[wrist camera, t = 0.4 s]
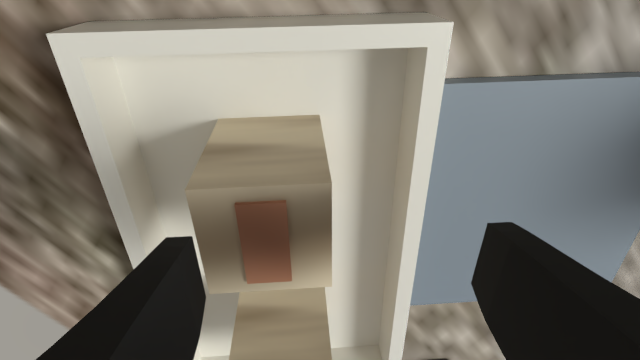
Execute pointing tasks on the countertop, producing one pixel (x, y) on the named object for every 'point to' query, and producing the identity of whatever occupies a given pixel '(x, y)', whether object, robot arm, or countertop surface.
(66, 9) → the countertop surface
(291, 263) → the labelled block
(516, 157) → the slate pad
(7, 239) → the countertop surface
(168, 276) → the robot arm
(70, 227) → the countertop surface
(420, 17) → the parts tray
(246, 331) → the plain block
